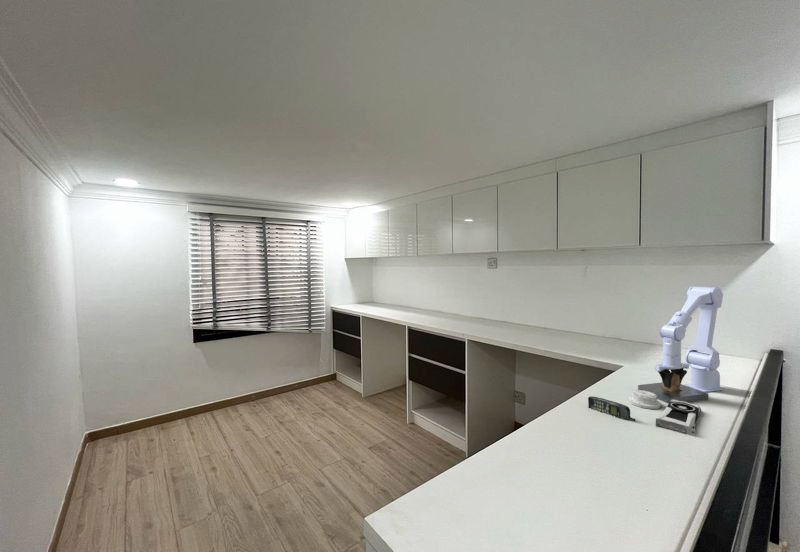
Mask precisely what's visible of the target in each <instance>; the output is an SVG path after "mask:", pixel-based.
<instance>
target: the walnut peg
mask: <svg viewBox="0 0 800 552" xmlns="http://www.w3.org/2000/svg"><path fill="white" fill-rule="evenodd" d="M661 383H662V388H663V389H666V390H669V391H671V392H679V391H680V375H677V374H674V375H673V377H672V380H671V387H670V388H667V387H665V386H664V384H663V381H662V380H661Z"/></svg>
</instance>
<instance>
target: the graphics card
mask: <svg viewBox="0 0 800 552" xmlns="http://www.w3.org/2000/svg"><path fill="white" fill-rule="evenodd" d="M701 413H702V408H701V407H700V405H698V404H695V403H691V402H683V401H678V400H671V401H670V402H669V404H668V403H667V406H666V407H665V409H664V410H663V412H662V413H661V414H660V416H659V417H658V418H655V426H656V427H661V428H664V429H668V430H671V431H675V432H678V433H680V432H681V433H683V434H686V435H687V434H688V436H691V437H694V436H695V437H696V434H695V433H694V432H696V429H695V428H696V425H697V422H698V420H699V417H700V415H701Z"/></svg>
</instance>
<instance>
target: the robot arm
mask: <svg viewBox="0 0 800 552" xmlns="http://www.w3.org/2000/svg"><path fill="white" fill-rule="evenodd" d="M686 296H687V299H686V301H685V303H684V304H683V306H682V308H681V310H680V311H676V312H675V313H674V314H673V315H672V316H671V318H670V320H669V321H668V323H667V324H664V325H662V326H661V327H660V329H659V336H660V338H661V339H660V340H661V342H662V361H661V362H660V363H659V364H656V365H654V371H657V372H658V374H659V376H660V378H661V382H662V381H663V384H664V386H665V387H667V388H670V387H671V380H672V377H673V375H674V374H677V375H680V384H682V381H683V379H684V378H685V375H687V373H688V370H689V369H690V383H686V384H684V385H685V386H688V387H691V388H694V389H697V390H699V391H702V392H705V393H708V392H709V393H710V392H718V391H723V388H721V374H720V372H719V370H718V368H719V367H720V363H721V360H720V353H719V351H718V350H716V349H715V348H714V347H713V346H712V345H713V341H714V340H713V339H714V333H715V327H716V322H717V313H718V309H719V308H721V307H722V304H723V297H724V293H723V292H722V289H721V288H720V287H712V286H711V287H710V286H709V287H708V286H694V285H693V286H690V287H689V288H688V290H687V292H686ZM698 308H700V314H699V319H698V320H699V321H698V327H697V332H696V333H697V334H696V340H695V344H693V345H689V346H688V347H687V352H686V353H685V357H684V358H685V359H684V360H685V361H686V362H682V340H684V338H685V336H686V332H687V328H688V326H689V324H690V323H691V322H692V320H693V318H692V314H693V313H694V312H696V311H697V309H698ZM687 369H688V370H687Z"/></svg>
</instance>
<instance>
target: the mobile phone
mask: <svg viewBox="0 0 800 552" xmlns="http://www.w3.org/2000/svg"><path fill="white" fill-rule="evenodd" d="M587 400H588V401H587V402H588V403H587V405H588V406H587V408H589V409H590V408H591V409H590V410H593V409H594V410H593V411H596V410H597V412H599V411H600V413H603V414H607V415H609V416H611V415H612V417H614V416H615V417H614V418H617V417H618V419H625V420H628V419H629V420H631V421H636V418H634V417H632V416H631V409H630V407H629V406H627V405H625V404H623V403H619V402H615V401H613V400H609V399H606V398H602V397H598V396H592V395H591V396H588V397H587Z"/></svg>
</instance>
